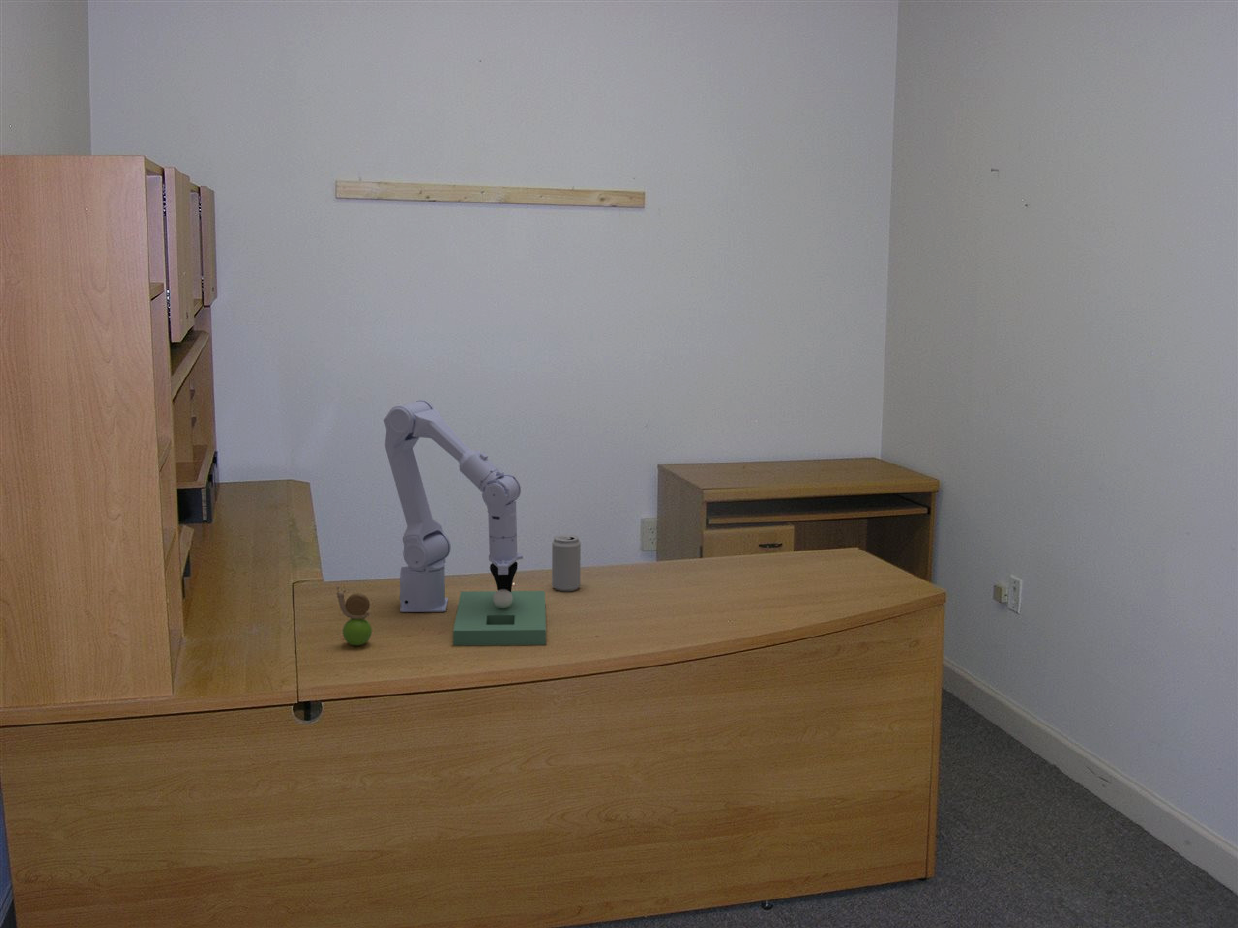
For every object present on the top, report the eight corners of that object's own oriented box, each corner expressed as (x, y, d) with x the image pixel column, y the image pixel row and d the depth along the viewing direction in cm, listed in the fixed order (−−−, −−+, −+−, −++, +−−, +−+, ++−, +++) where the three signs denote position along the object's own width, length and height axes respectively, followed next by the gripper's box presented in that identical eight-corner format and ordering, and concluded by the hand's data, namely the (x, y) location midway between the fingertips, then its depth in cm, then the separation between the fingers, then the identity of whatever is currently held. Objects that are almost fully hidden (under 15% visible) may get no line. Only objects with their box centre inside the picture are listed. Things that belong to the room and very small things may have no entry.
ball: (492, 594, 228) (493, 612, 226) (492, 586, 225) (494, 604, 223) (511, 593, 229) (513, 610, 227) (511, 584, 226) (514, 602, 224)
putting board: (453, 645, 213) (453, 630, 213) (461, 604, 237) (461, 591, 236) (545, 644, 215) (545, 630, 214) (544, 604, 238) (544, 590, 238)
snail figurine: (340, 639, 215) (338, 581, 213) (373, 639, 216) (372, 581, 213) (336, 649, 210) (333, 590, 208) (370, 649, 211) (368, 589, 208)
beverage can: (576, 593, 246) (577, 542, 243) (548, 591, 247) (549, 539, 245) (583, 584, 252) (583, 534, 249) (556, 582, 253) (556, 532, 251)
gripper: (522, 543, 218) (524, 608, 221) (522, 525, 232) (524, 586, 235) (486, 544, 218) (488, 609, 220) (489, 526, 232) (491, 587, 235)
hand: (504, 597), depth 228 cm, fingers closed, pressing on ball
